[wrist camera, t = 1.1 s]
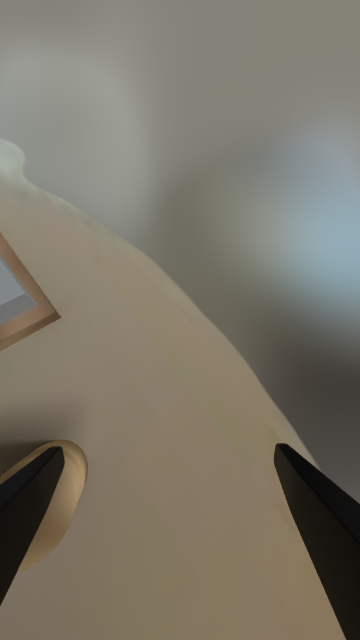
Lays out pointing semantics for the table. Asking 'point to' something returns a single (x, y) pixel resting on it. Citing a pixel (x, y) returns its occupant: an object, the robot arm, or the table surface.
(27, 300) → the tower top block
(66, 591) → the table surface
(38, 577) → the table surface
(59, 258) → the table surface
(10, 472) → the tan rounded piece
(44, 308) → the tower base block
